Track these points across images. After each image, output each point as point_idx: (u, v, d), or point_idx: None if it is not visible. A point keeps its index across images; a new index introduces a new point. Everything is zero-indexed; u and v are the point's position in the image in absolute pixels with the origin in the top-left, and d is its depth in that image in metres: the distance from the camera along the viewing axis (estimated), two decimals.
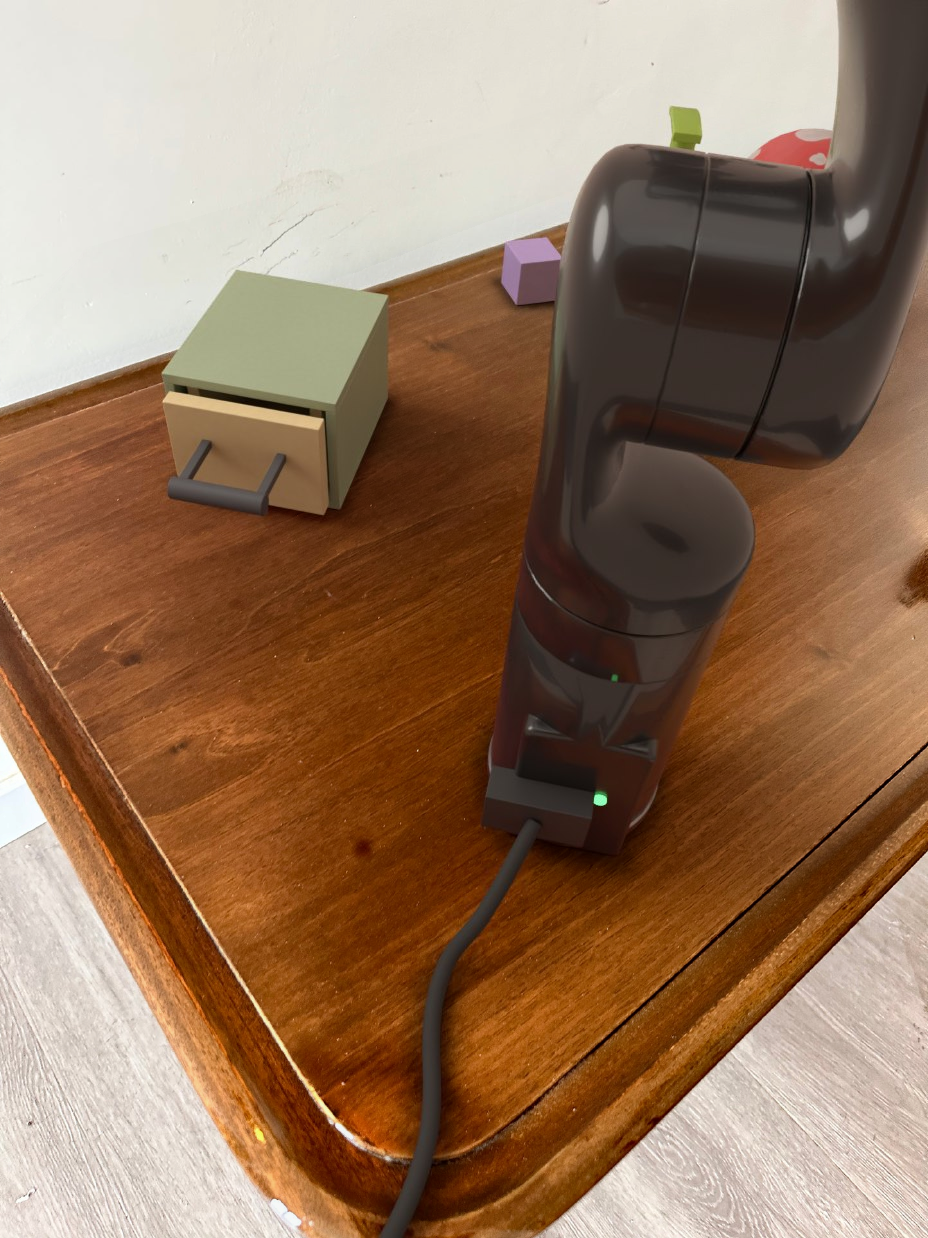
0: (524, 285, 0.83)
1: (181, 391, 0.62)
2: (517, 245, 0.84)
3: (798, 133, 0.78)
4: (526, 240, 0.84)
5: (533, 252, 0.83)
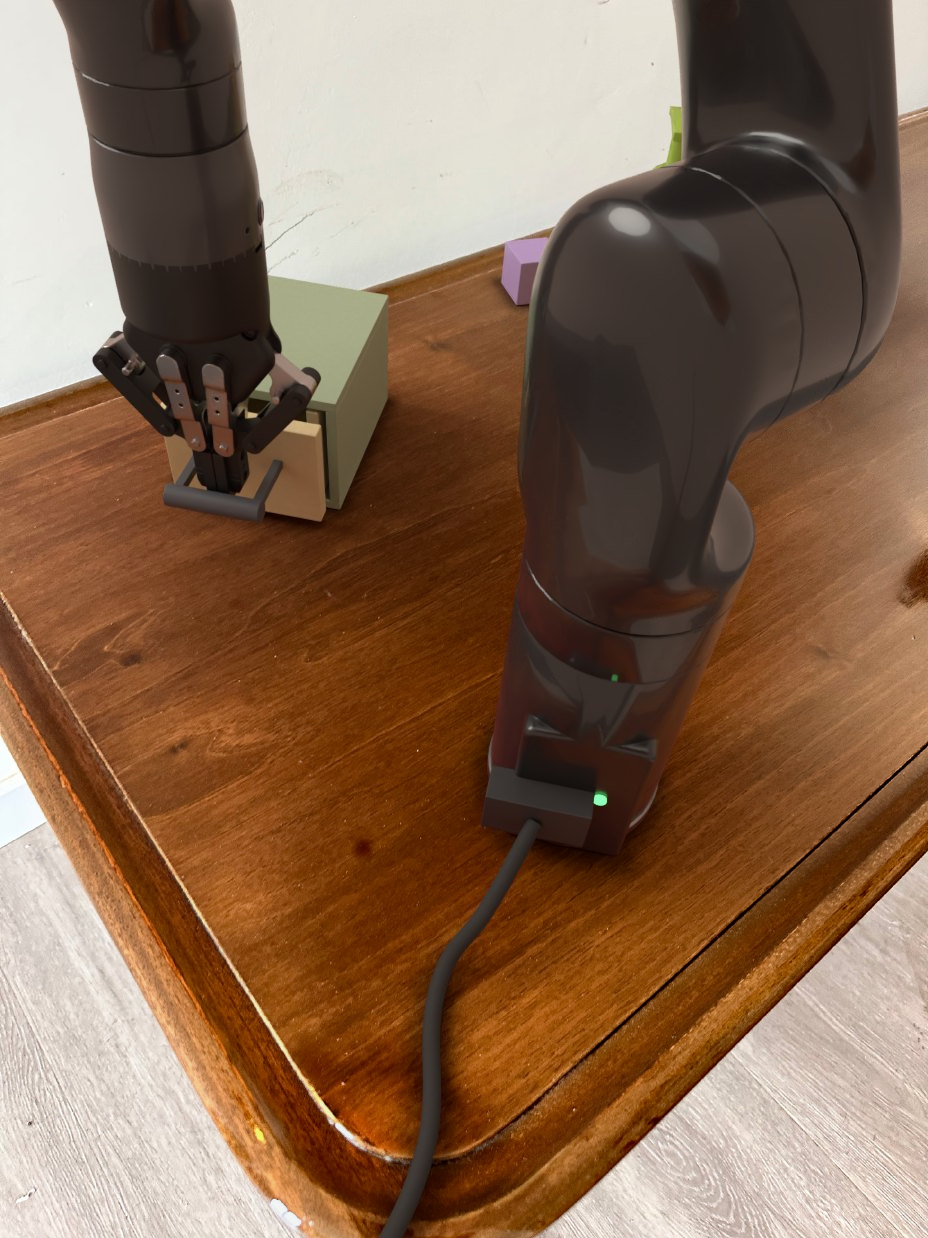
0: (524, 285, 0.83)
1: None
2: (517, 245, 0.84)
3: None
4: (526, 240, 0.84)
5: (533, 252, 0.83)
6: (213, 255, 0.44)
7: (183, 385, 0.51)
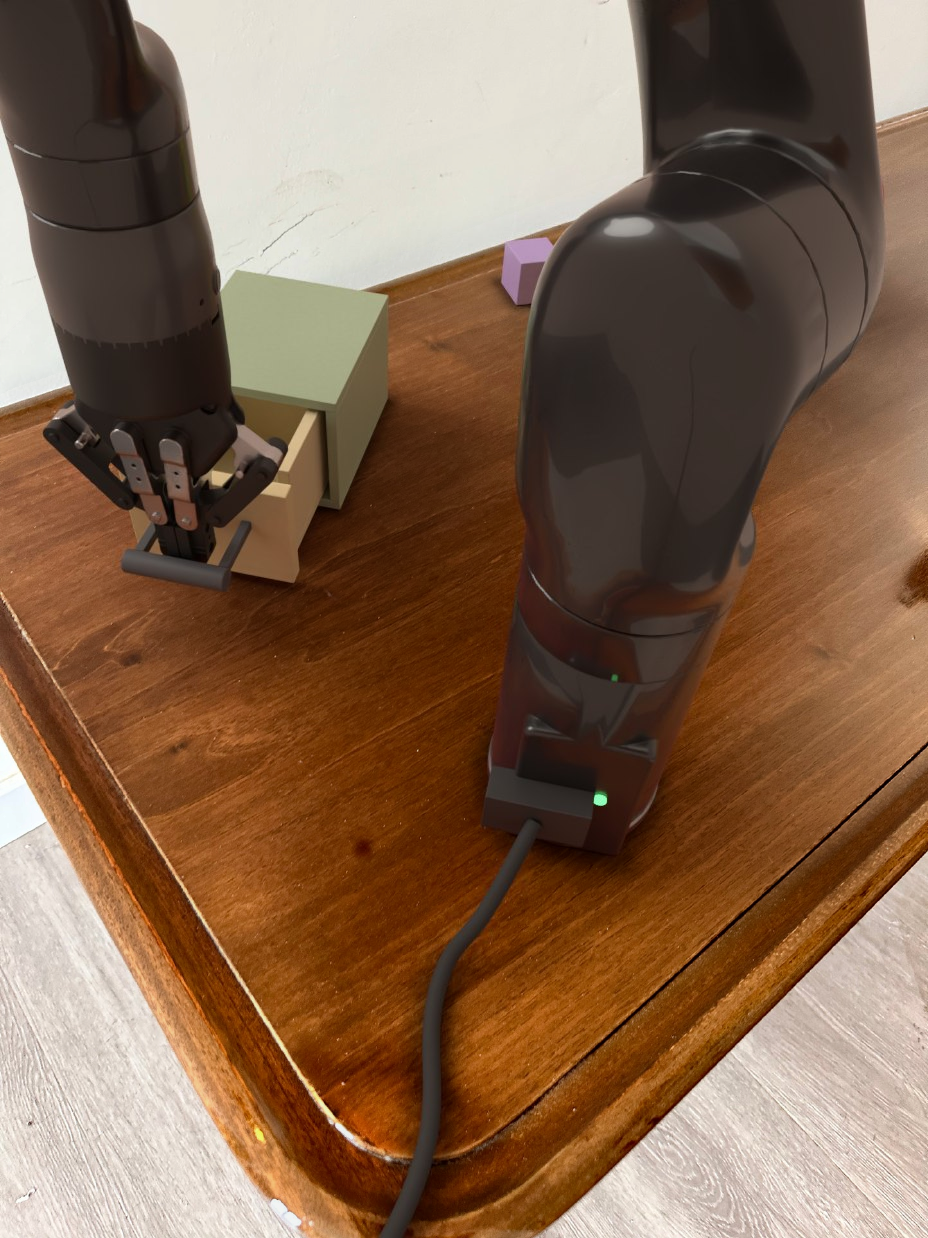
0: (524, 285, 0.83)
1: None
2: (517, 245, 0.84)
3: None
4: (526, 240, 0.84)
5: (533, 252, 0.83)
6: (164, 331, 0.41)
7: (140, 460, 0.48)
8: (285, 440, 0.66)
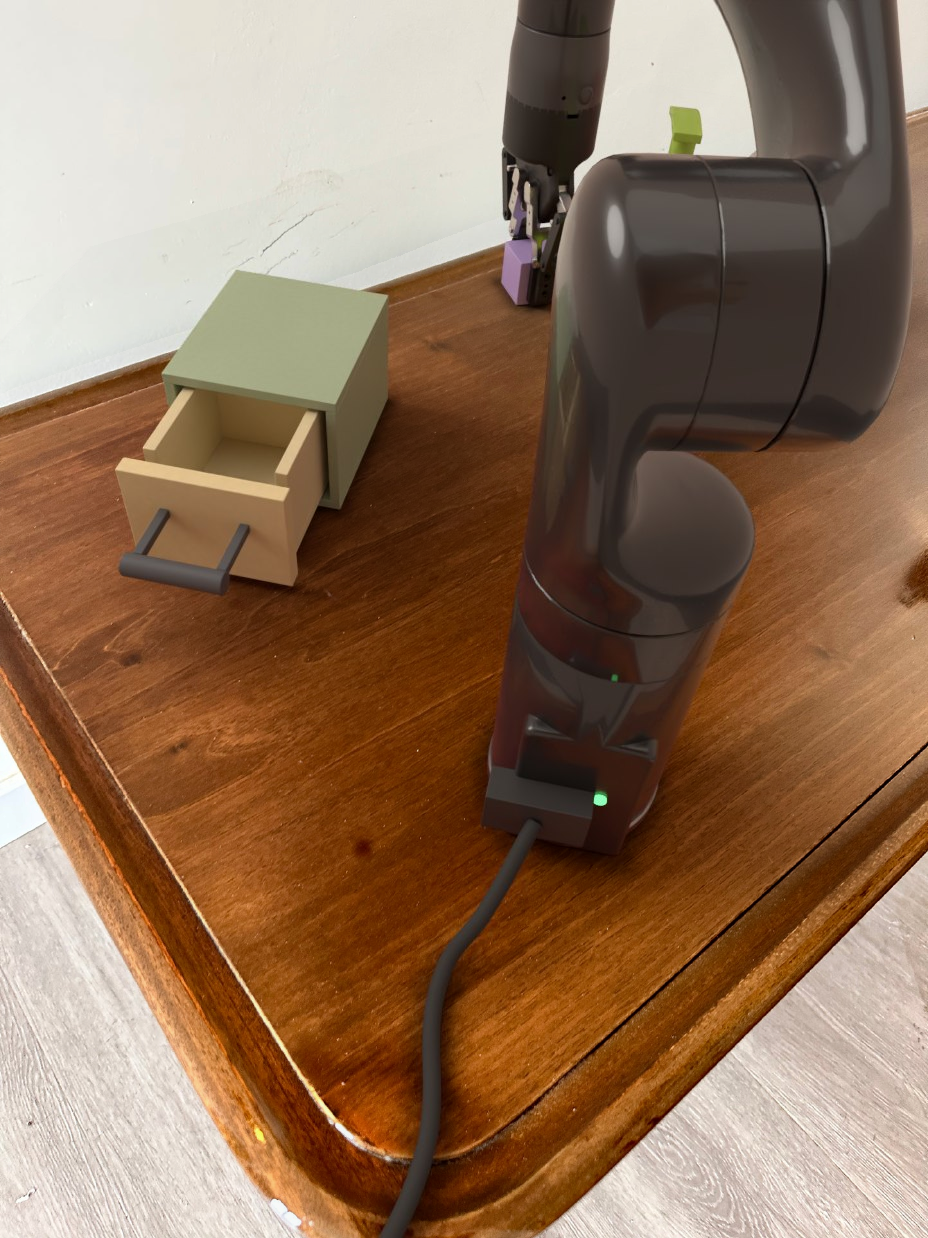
0: (524, 285, 0.83)
1: None
2: (517, 245, 0.84)
3: None
4: (526, 240, 0.84)
5: None
6: (535, 101, 0.71)
7: (517, 193, 0.80)
8: (284, 442, 0.66)
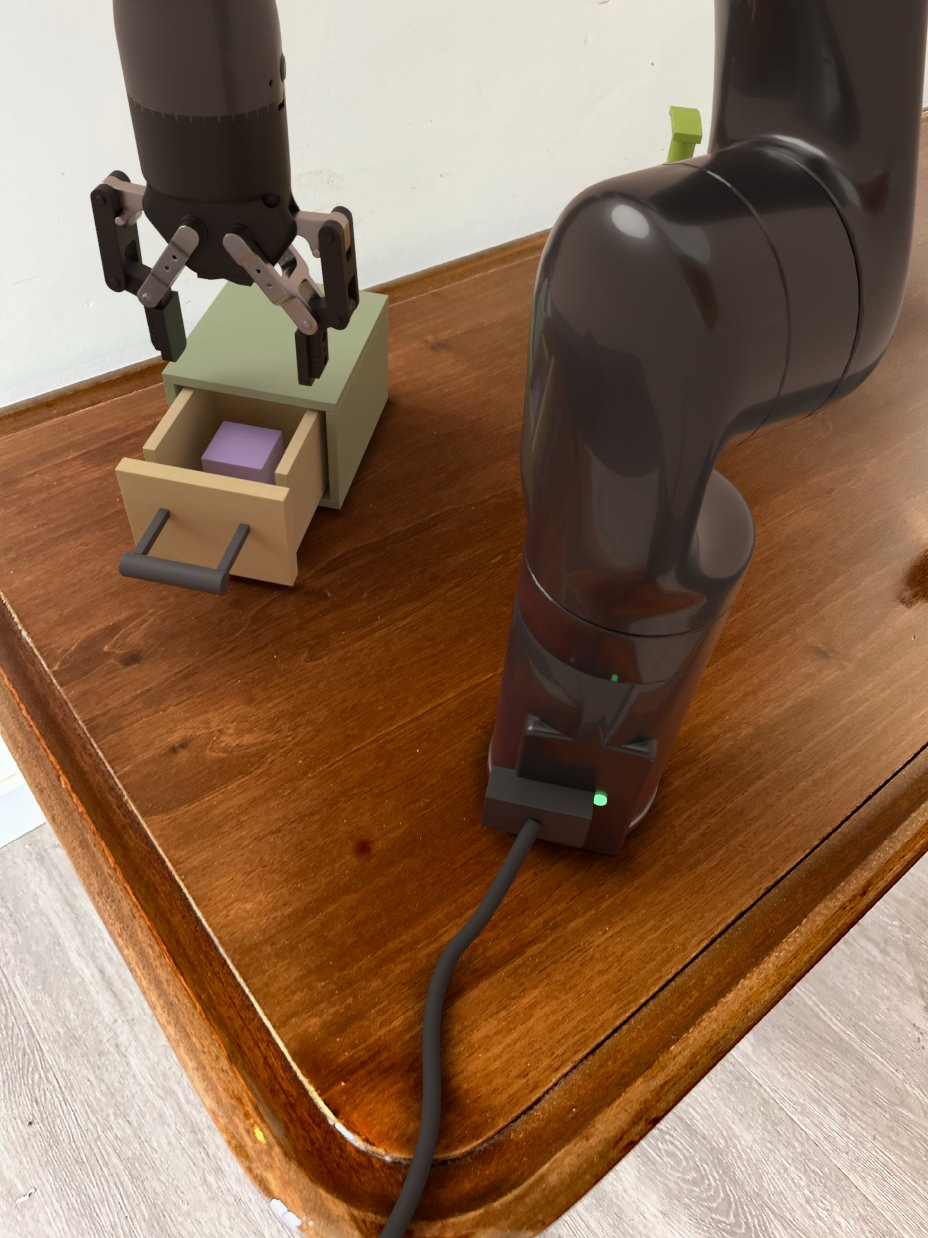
0: None
1: None
2: None
3: None
4: None
5: None
6: (237, 105, 0.44)
7: (185, 258, 0.51)
8: (284, 442, 0.66)
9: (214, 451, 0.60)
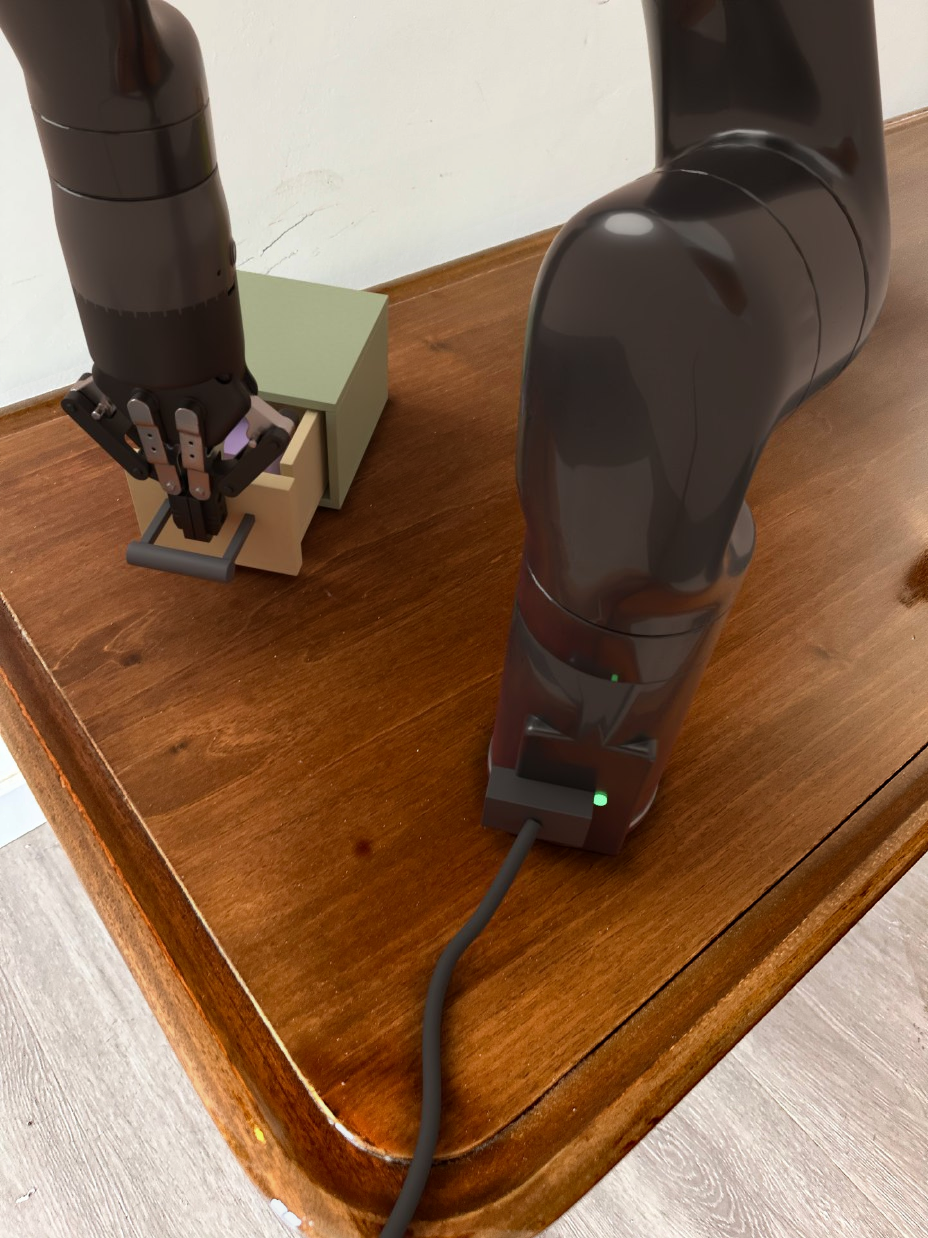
0: None
1: None
2: None
3: None
4: None
5: None
6: (183, 300, 0.42)
7: (156, 429, 0.49)
8: None
9: None
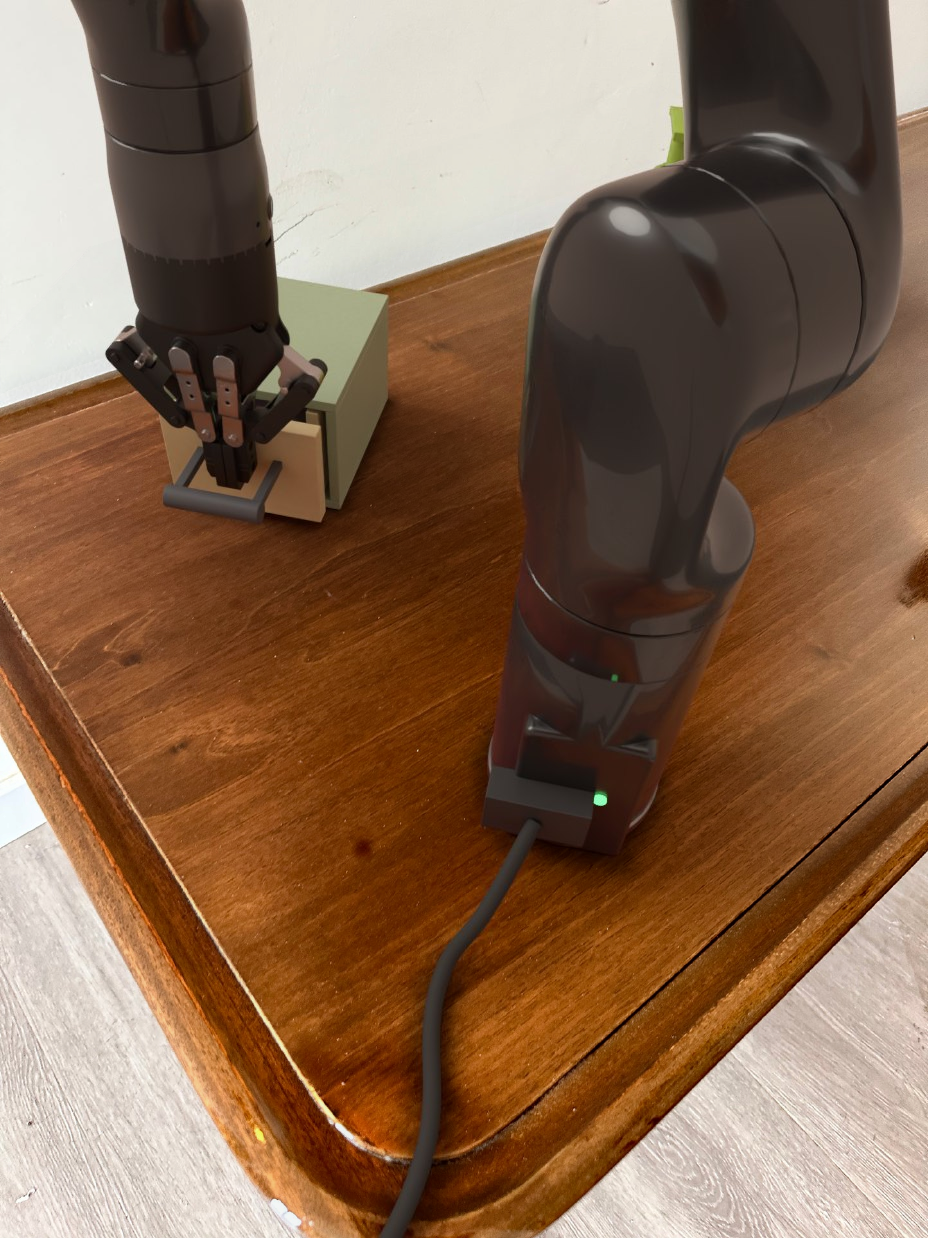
0: None
1: None
2: None
3: None
4: None
5: None
6: (225, 249, 0.46)
7: (194, 377, 0.53)
8: None
9: None
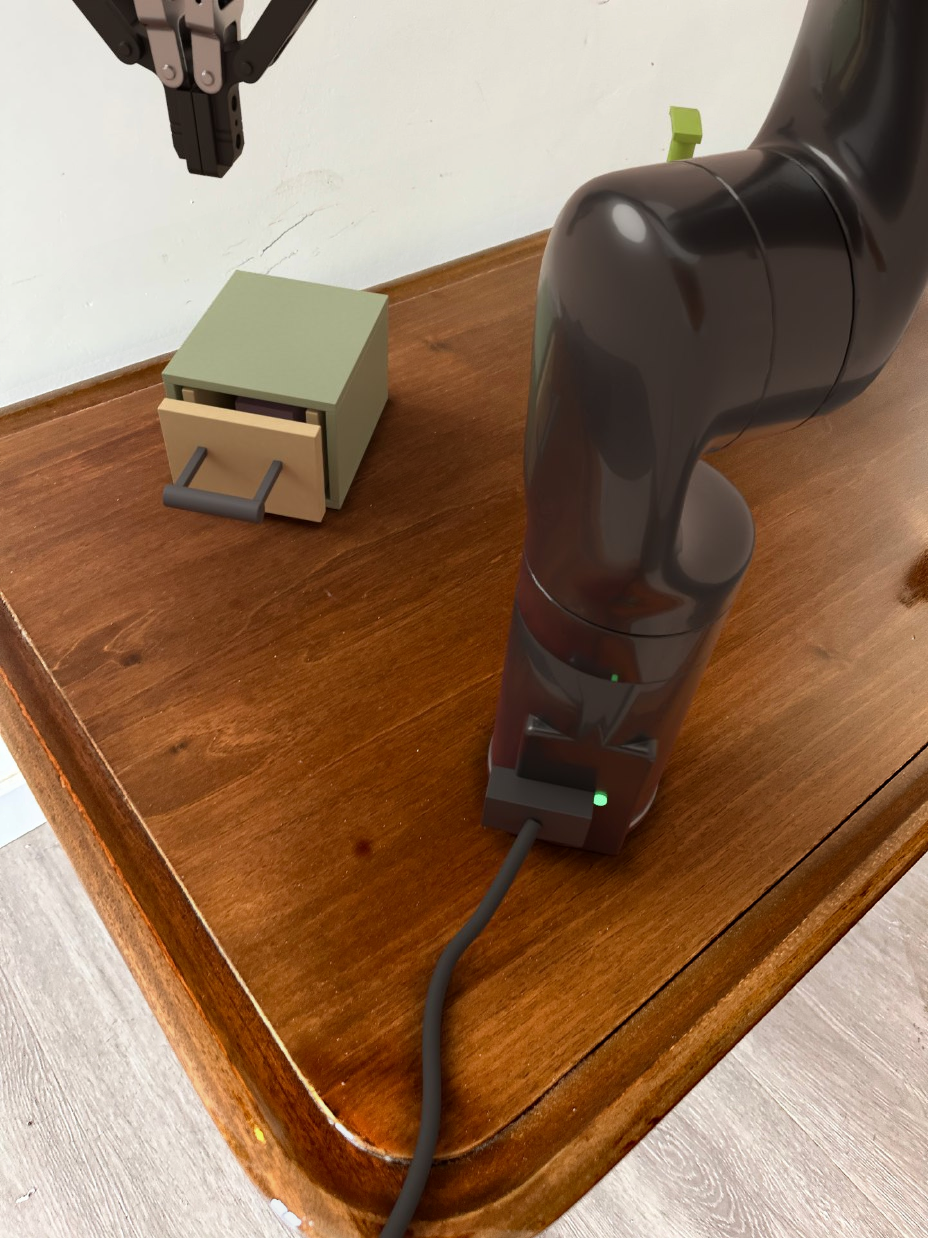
0: None
1: (181, 391, 0.62)
2: None
3: None
4: None
5: None
6: None
7: None
8: None
9: None
